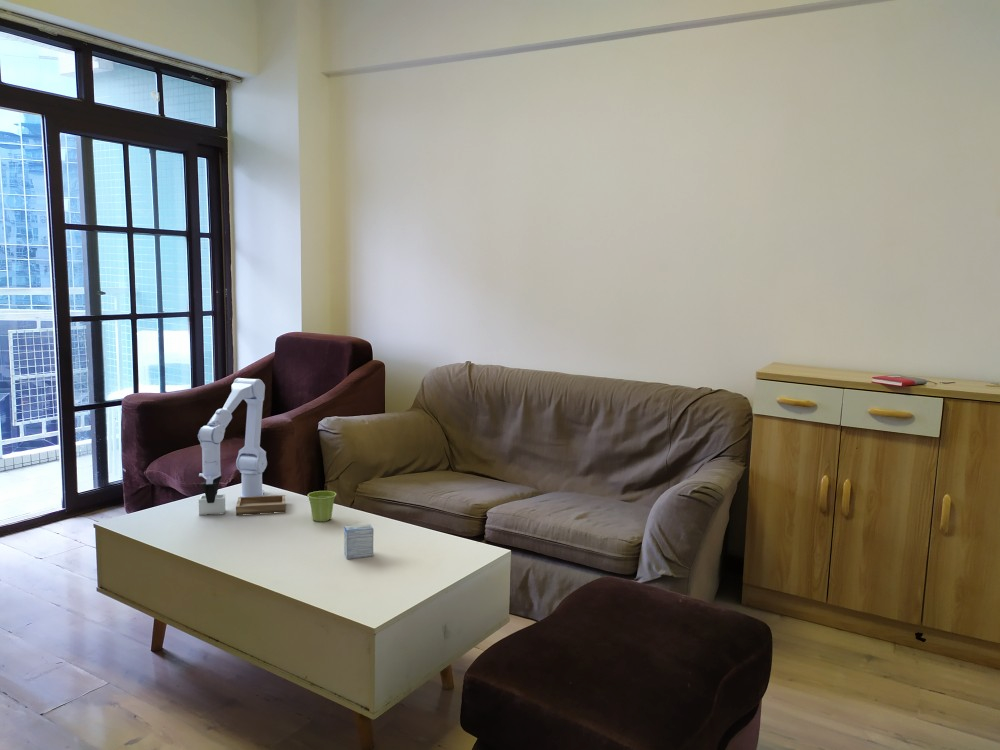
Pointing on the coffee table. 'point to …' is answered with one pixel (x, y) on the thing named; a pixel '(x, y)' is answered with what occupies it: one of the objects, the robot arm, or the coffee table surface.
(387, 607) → the coffee table surface
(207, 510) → the white crate
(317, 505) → the plant pot
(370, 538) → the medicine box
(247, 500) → the walnut crate
